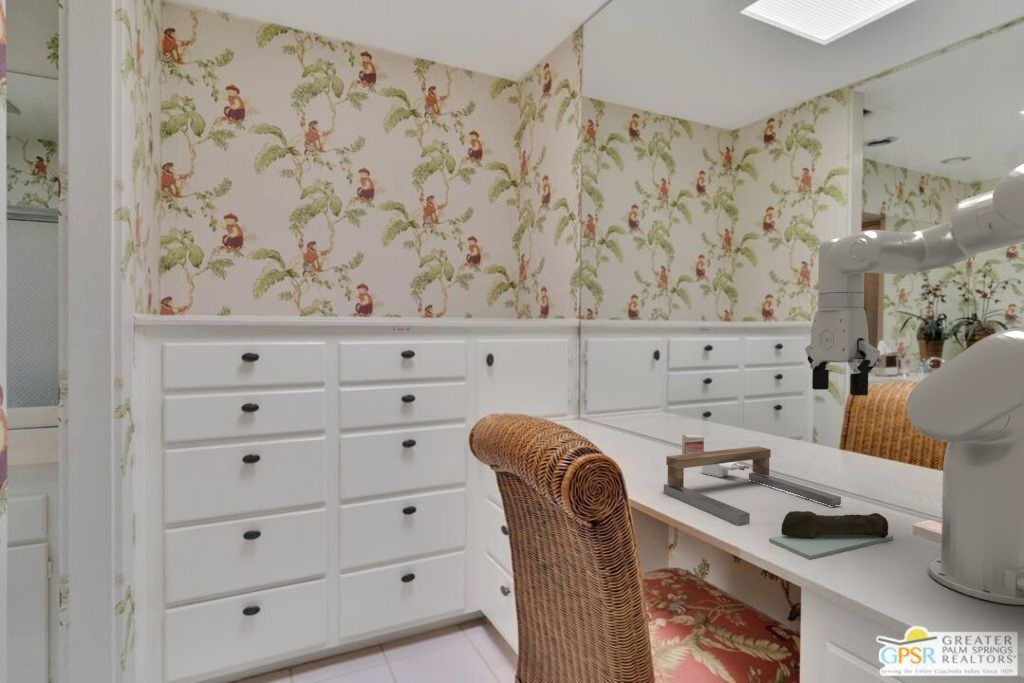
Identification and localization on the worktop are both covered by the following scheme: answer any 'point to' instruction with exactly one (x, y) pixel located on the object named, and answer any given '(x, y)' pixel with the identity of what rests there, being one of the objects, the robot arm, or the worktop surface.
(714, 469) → the power adapter
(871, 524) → the dark brown rough bar
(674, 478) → the wooden bridge block
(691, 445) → the small box
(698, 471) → the worktop surface
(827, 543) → the mat
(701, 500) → the rails
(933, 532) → the soap bar
